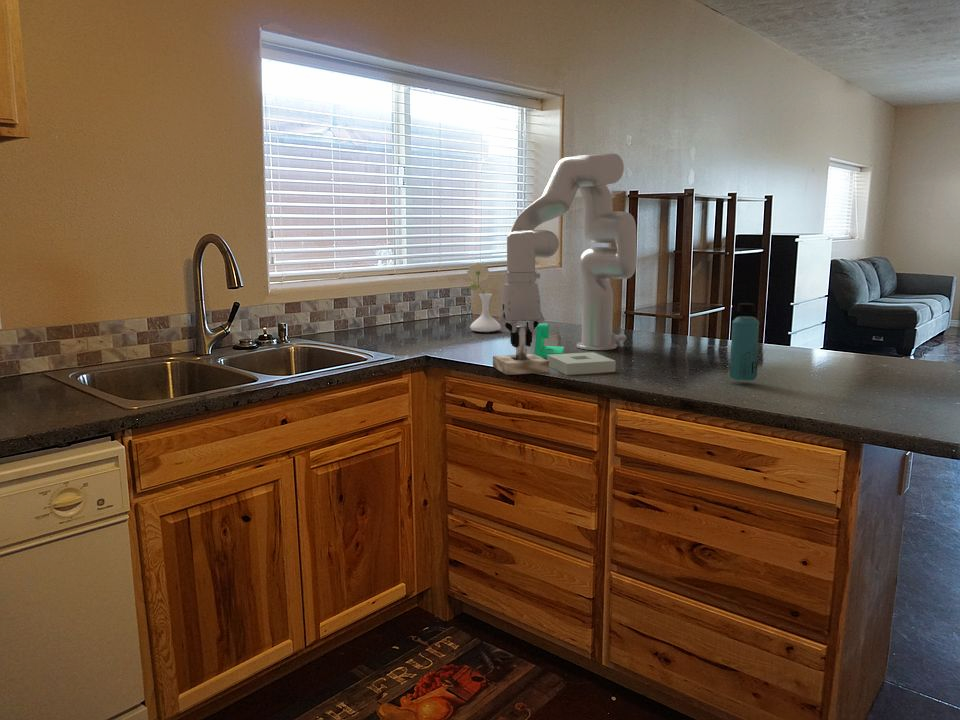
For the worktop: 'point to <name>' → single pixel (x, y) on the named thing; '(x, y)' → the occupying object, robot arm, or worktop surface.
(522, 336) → the steel pin
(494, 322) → the flower in vase
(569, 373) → the dock block
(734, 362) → the beverage bottle
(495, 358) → the block
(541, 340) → the camera mount
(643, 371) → the worktop surface
